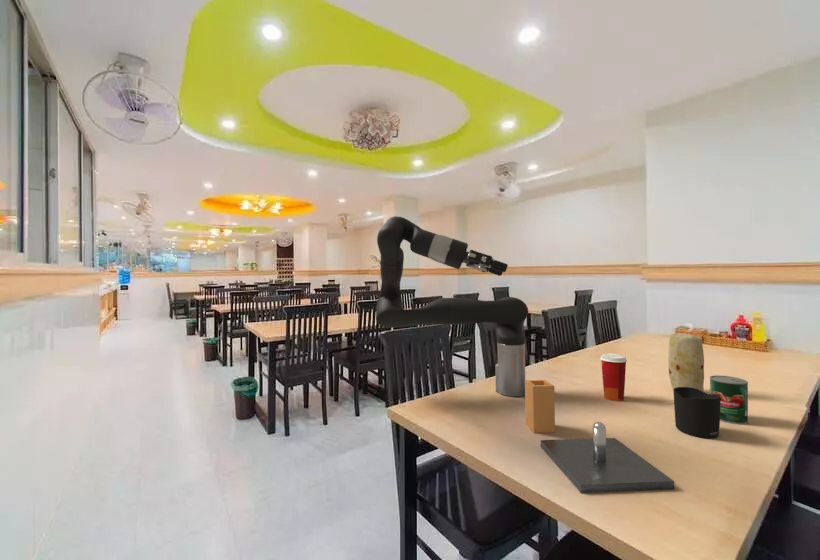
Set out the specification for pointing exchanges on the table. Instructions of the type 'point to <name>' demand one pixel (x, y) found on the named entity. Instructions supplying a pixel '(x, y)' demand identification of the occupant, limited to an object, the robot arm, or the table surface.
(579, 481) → the shaft stand
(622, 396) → the paper cup
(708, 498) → the table surface
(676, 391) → the pen holder
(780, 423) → the table surface
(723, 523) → the table surface
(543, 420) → the tan rectangular holder
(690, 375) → the food model
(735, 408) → the canned tomato
